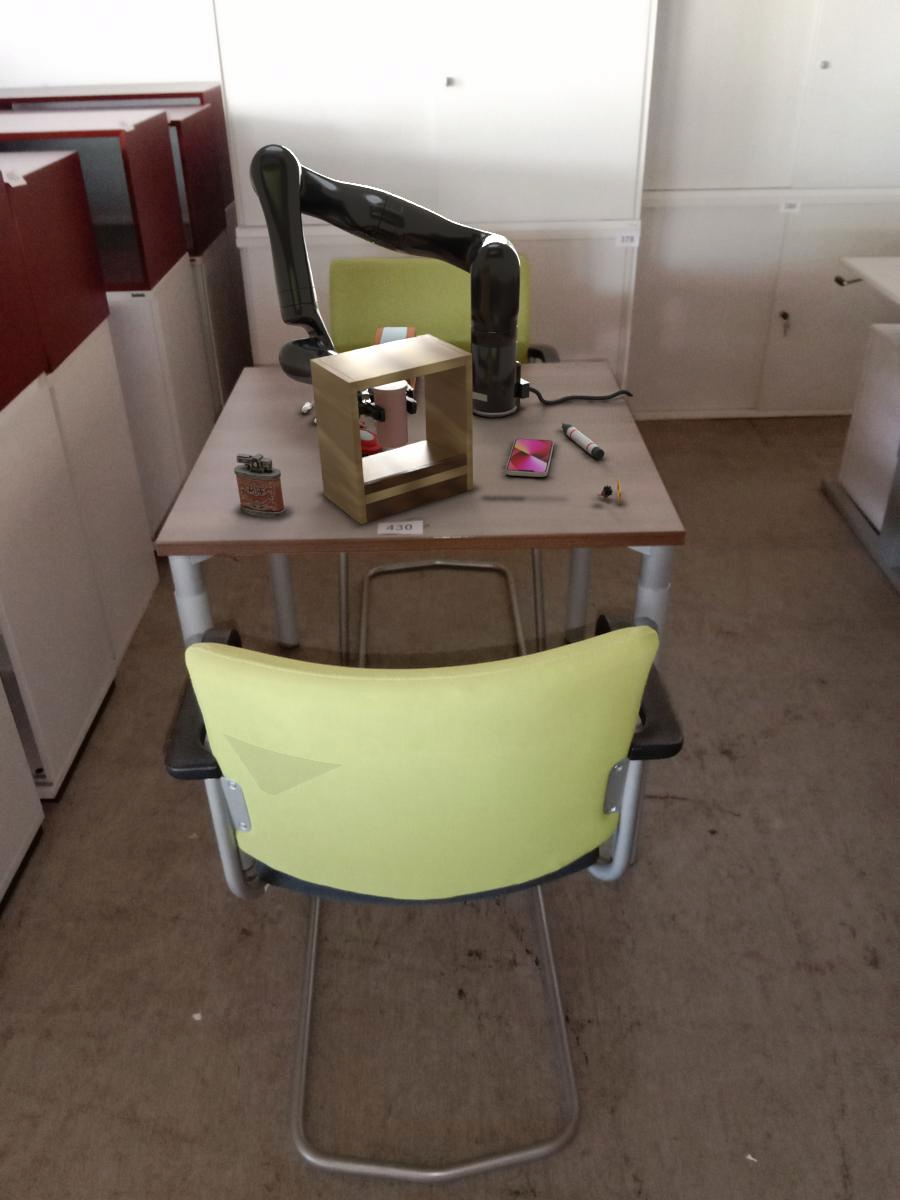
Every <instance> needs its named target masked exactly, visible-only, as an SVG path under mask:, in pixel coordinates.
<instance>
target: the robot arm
mask: <svg viewBox="0 0 900 1200" xmlns="http://www.w3.org/2000/svg"><path fill="white" fill-rule="evenodd" d="M248 174H249V180H250V184H251V187H252V189H253V191H254V193H255V195H256V196H257V198H258V201H259V204H260V207H261V210H262V213H263V217H264V220H265V224H266V228H267V233H268V239H269V244H270V251H271V258H272V259H271V260H272V267H273V275H274V282H275V289H276V293H277V295H276V296H277V300H278V305H279V308H280V309H279V311H280V316H281V320H282V322H283V323H284V324H285V325H287V326H292V327H300V328H302V329H304V330H305V332H306V333H307V335H308V337H302V338H296V339H295V338H294V339H290V340H287V341H285V343H283V344H282V345H281V347H280V348H279V353H278V363H279V366H280V368H281V370H282V371H283V373H284V374H285V375H286V376H287V377H288V378H290V379H291V380H293V381H295V382H297V383H302V384H305V385H311V386H313V384H312V374H311V364H310V360H311V359H316V358H321V357H325V356H330V355H334V354H339V353H340V352H338V351H337V350H336V346H335V344H334V342H333V340H332V337H331V335H330V333H329V331H328V330H327V326H326V324H325V321H324V319H323V316H322V314H321V311H320V307H319V303H318V302H319V301H318V295H317V290H316V283H315V277H314V273H313V269H312V265H311V261H310V260H311V259H310V257H309V252H308V246H307V243H306V237H305V232H304V231H305V230H304V225H303V218H302V215H305V216H309V217H311V218H315V219H318V220H320V221H323V222H324V223H327V224H329V225H332V226H334V227H335V228H337V229H339V230H341V231H343V232H345V233H348V234H349V235H352V236H354V237H357V238H358V239H361V240H363V241H365V242H368V243H370V244H373V245H376V246H378V247H381V248H383V249H386V250H388V251H391V252H393V253H397V254H401V255H407V256H413V257H420V258H425V259H426V258H427V259H433V260H438V261H441V262H444V263H447V264H449V265H450V266H451V265H452V266H454V267H456V268H458V269H459V270H462V271H464V272H466V273H467V274H469V275H470V312H469V321H470V322H469V326H470V327H469V328H470V338H469V339H470V340H469V341H470V353H471V354H472V414H473V415H474V414H475V415H477V416H480V417H484V418H501V417H502V418H503V417H507V416H510V415H512V414H514V413H515V412H516V411H517V410H520V409H521V400H525V399H527V398H528V399H529V398H530V393H533V394H535V395H536V397H537V399H538V401H539V402H540V403H541V404H542V405H546V406H551V405H557V404H561V403H564V402H568V401H576V400H577V401H609V400H612V399H614V398H616V397H619V396H621V395H626V396H627V397H631V398H632V397H634V394H633V393H632V392H631V391H630V390H627V389H620V390H618V391H617V390H616V391H615V392H613V393H610V394H607V395H583V394H581V395H579V394H577V395H576V394H575V395H574V394H573V395H566V396H564V397H563V396H562V397H560V398H558V399H555V400H547V399H544V397H543V395H542V393H541V392H540V391H539V390H538V389H536V388H534V387H532V386H531V383H530V382H529V381H527V380H525V379H524V378H522V364H521V362H520V361H518V334H519V333H518V332H519V330H518V327H519V313H520V301H521V300H520V299H521V297H520V296H521V261H520V258H519V254H518V251H517V250H516V247H515V245H514V244H513V243H512V242H511V241H510V240H509V239H507V237H505V236H502V235H500V234H496V233H493V232H489V231H485V230H481V229H478V228H473V227H471V226H467V225H464V224H460V223H458V222H455V221H452V220H450V219H447V218H446V217H444V216H443V215H440V214H438V213H436V212H434V211H432V210H430V209H428V208H425V207H424V206H421V205H420V204H417V203H415V202H412V201H410V200H408V199H406V198H403V197H401V196H398V195H396V194H394V193H393V194H392V193H391V192H388V191H385V190H383V189H380V188H376V187H372V186H368V185H362V184H356V183H352V182H351V183H350V182H345V181H340V180H335V179H333V178H330V177H327V176H325V175H322V174H320V173H319V172H316V171H314V170H312V169H310V168H308V167H306V166H304V165H302V164H301V163H300V161H299V159H298V158H297V157H296V155H295V154H294V153H293V152H292V151H291V150H290V149H289V148H287V147H285V146H283V145H280V144H275V143H271V144H266V145H263V146H262V147H260V148H259V149H258V150H256V151H255V153H254V154H253V156H252V158H251V160H250V164H249V169H248ZM407 387H408V388H407V390H406V405H407V414H410V415H411V416H412V415H415V414H417V411H418V402H417V400H415V399H414V398H415V397H414V396H415V395H414V396H413V392H414V393H415V389H413V388H412V387H411V386H410V385H409V384H408V383H407ZM357 399H358V412H359V418H361V416H364V418H371V419H372V420H374V421H376V420H377V421H379V422H385V410H384V409H383V408H382V407H380V406H378V405H376V404H375V403H374V392H373V391H372V388H369V389H365V390H361V391H357Z"/></svg>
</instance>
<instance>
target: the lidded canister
mask: <svg viewBox="0 0 900 1200" xmlns="http://www.w3.org/2000/svg"><path fill="white" fill-rule="evenodd" d="M407 388H408V387H407V382H406V381H405V380H402V381H398V382H394V383H390V384H386V385H382V386H378V387H373V388H372V391H373V392H374V403H375V404H376V405H378V406H380V407H382V408H383V409H384V410H385V422H379V421H377V420H375V432H376V433H375V434H376V435H377V444H378V445H380V446H382V448H385V449H386V448H387V449H396V448H400V447H403V446H407V445H408V443H409V430H408V429H409V428H408V412H407V405H406V390H407Z"/></svg>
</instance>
